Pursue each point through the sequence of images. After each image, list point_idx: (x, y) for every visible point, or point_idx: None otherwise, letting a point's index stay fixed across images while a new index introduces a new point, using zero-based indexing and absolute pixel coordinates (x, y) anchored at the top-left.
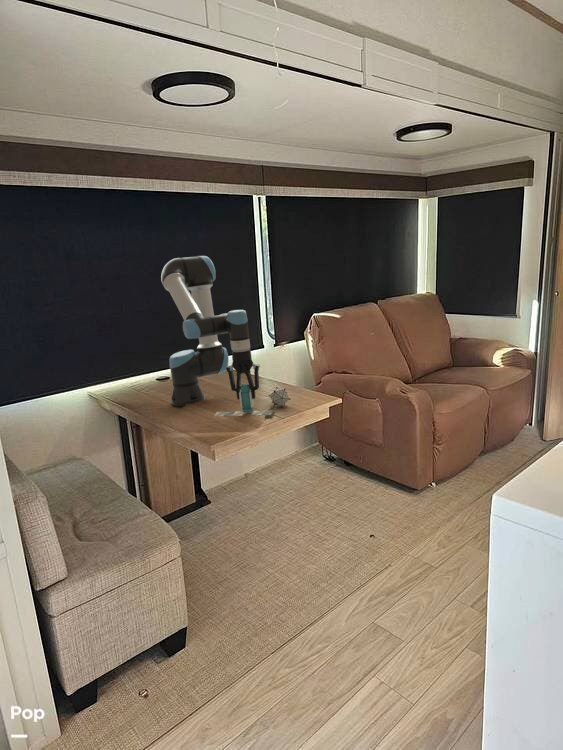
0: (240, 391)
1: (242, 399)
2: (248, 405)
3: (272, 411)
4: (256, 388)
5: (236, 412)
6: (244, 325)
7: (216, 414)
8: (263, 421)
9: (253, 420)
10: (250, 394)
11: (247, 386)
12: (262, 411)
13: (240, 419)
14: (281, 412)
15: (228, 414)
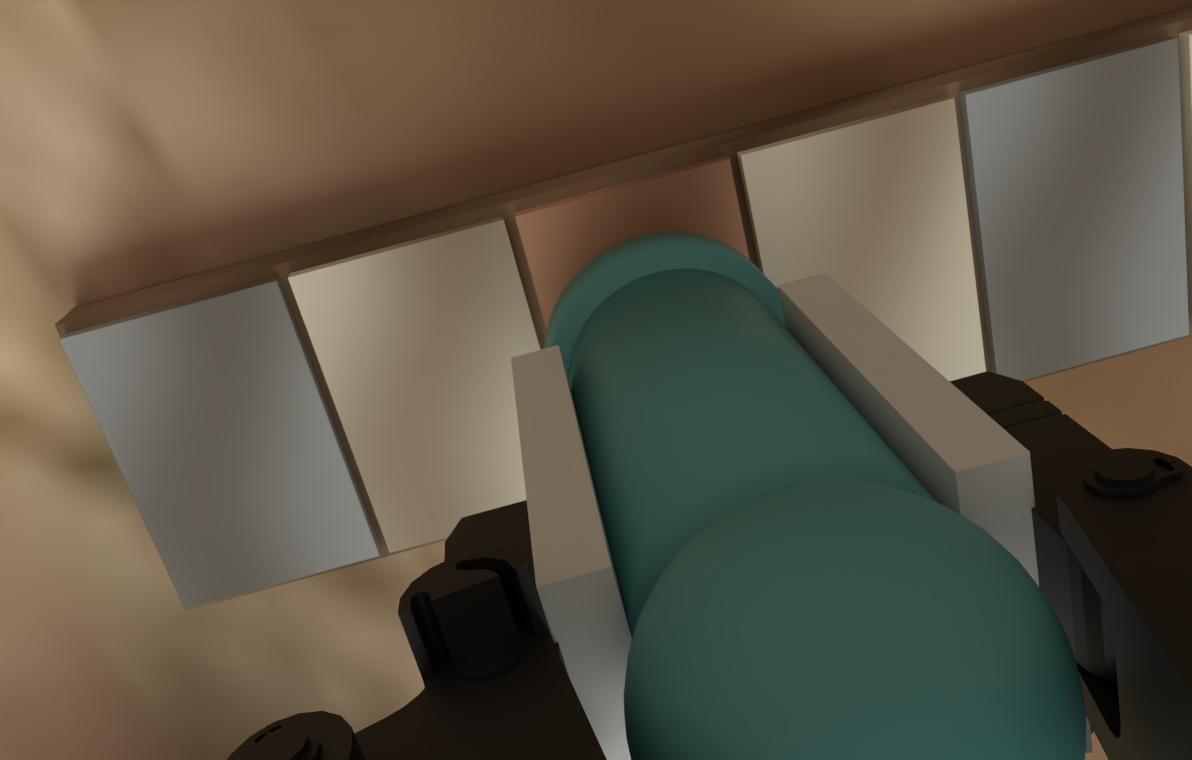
0: None
1: (824, 379)
2: (614, 338)
3: (149, 531)
4: (267, 746)
5: (945, 328)
6: None
7: None
8: (120, 62)
9: (399, 85)
10: (557, 527)
11: (707, 720)
12: (380, 491)
13: (734, 95)
14: (60, 638)
15: (1081, 174)
